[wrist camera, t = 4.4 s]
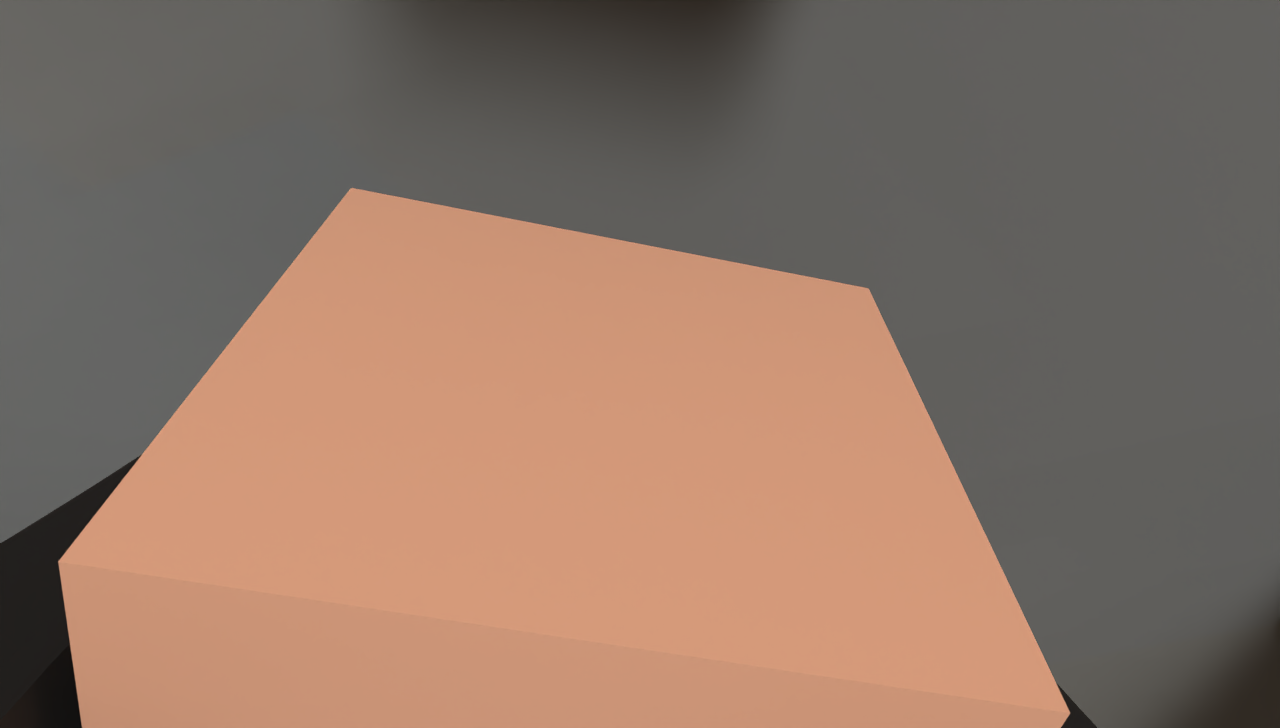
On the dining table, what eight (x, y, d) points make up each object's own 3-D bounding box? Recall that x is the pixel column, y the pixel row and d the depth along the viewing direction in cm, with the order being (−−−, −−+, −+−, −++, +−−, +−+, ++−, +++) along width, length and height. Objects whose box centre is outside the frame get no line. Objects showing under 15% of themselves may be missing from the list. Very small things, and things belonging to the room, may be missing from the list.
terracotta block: (869, 288, 9) (1071, 713, 5) (737, 643, 12) (792, 1134, 7) (351, 187, 9) (58, 561, 4) (330, 581, 11) (130, 1069, 7)
